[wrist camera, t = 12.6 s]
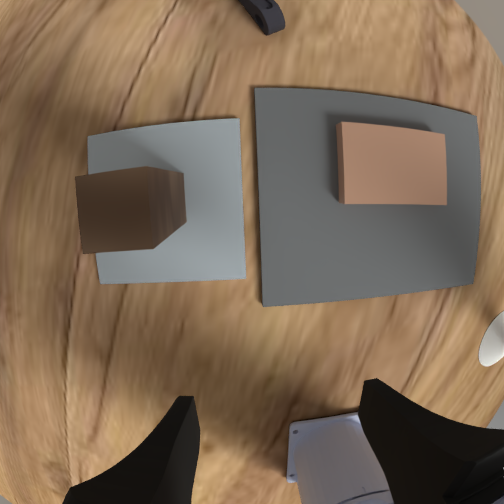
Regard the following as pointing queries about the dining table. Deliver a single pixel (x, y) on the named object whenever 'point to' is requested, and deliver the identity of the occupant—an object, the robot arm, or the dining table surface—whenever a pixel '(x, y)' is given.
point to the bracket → (265, 14)
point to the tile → (390, 165)
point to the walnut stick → (129, 208)
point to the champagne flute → (493, 342)
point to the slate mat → (357, 215)
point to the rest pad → (196, 199)
